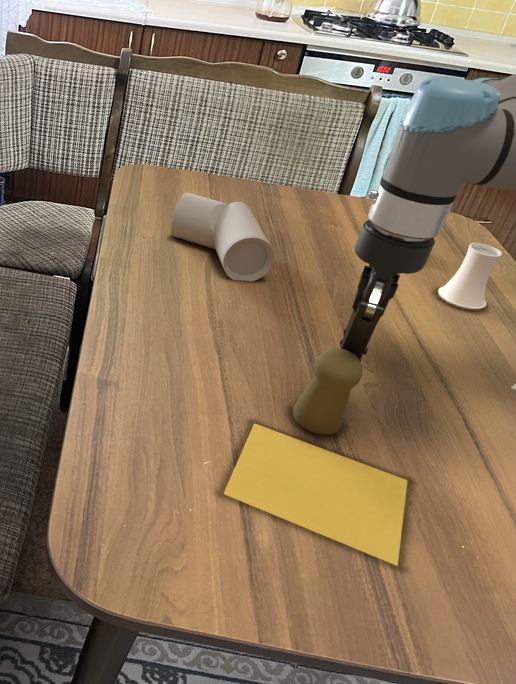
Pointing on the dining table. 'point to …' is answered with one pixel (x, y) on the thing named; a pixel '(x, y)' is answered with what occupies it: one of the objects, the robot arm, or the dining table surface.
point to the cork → (328, 392)
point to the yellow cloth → (321, 492)
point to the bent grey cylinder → (225, 234)
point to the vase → (471, 278)
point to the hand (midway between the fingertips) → (331, 395)
